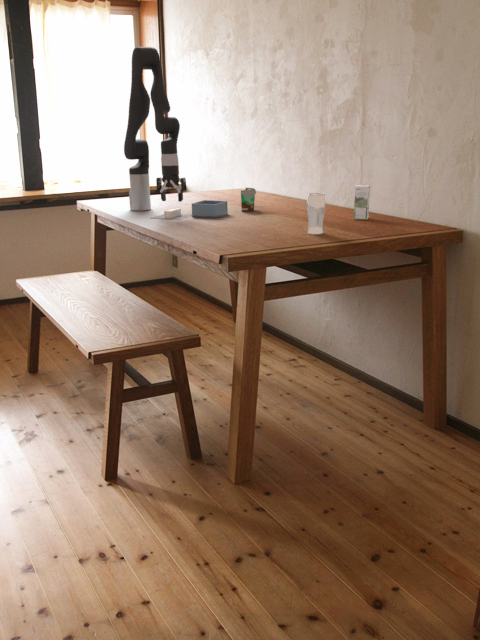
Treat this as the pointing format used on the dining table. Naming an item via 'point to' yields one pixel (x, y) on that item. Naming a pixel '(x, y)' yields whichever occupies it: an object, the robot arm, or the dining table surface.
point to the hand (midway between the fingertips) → (172, 201)
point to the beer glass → (315, 212)
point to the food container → (248, 199)
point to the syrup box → (361, 202)
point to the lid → (172, 215)
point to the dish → (209, 209)
